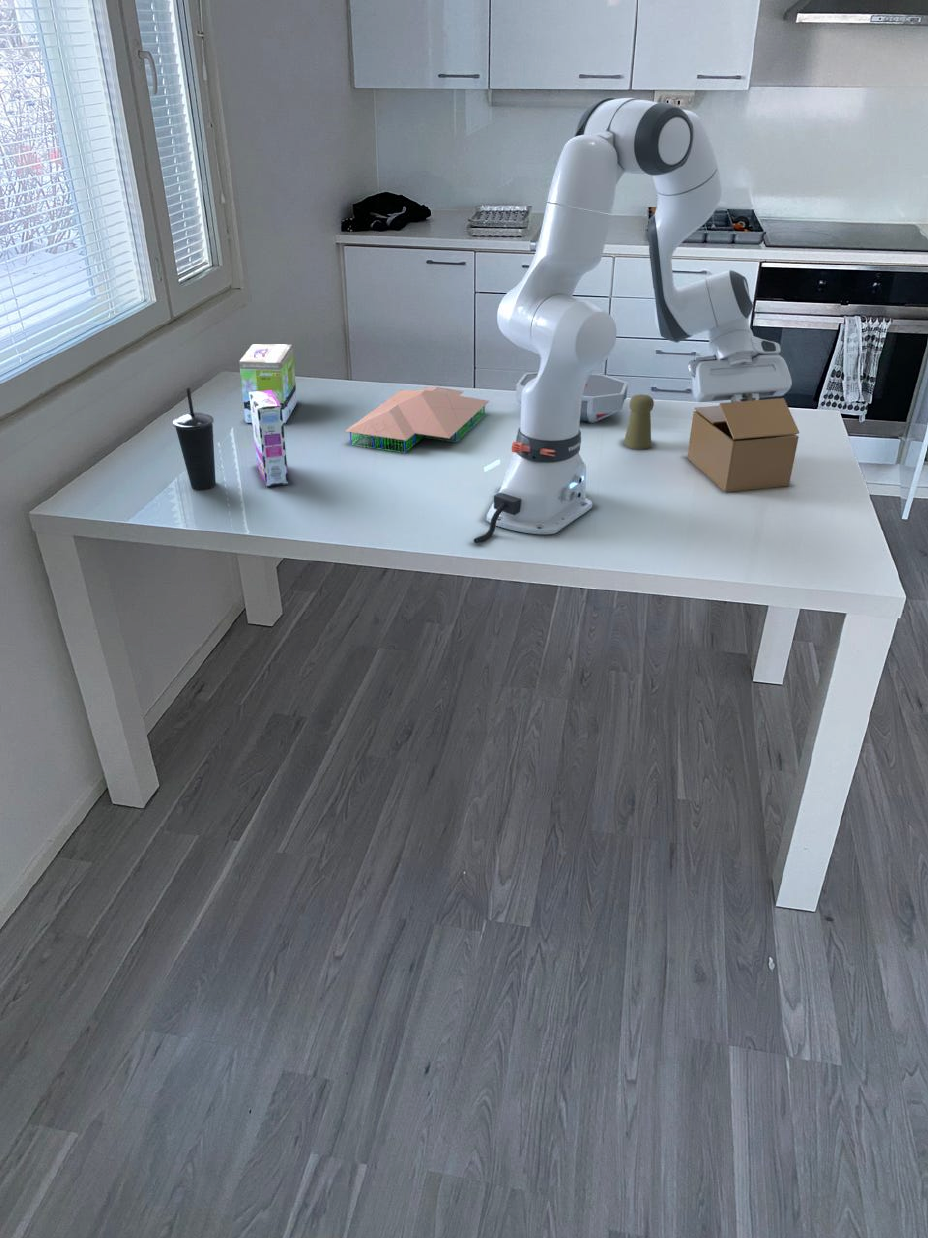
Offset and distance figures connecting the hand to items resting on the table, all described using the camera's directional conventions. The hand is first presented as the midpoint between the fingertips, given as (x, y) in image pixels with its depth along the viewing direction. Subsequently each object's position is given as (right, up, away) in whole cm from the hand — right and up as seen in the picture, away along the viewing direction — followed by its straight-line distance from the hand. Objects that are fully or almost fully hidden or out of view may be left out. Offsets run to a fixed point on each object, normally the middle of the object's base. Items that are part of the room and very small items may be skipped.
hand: (749, 416), depth 187 cm
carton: (0, -10, +8) cm, 12 cm away
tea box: (-103, +9, +37) cm, 110 cm away
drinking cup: (-110, -14, +2) cm, 111 cm away
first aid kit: (-32, +8, +37) cm, 49 cm away
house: (-67, +4, +29) cm, 73 cm away
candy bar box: (-96, -11, +6) cm, 97 cm away
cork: (-19, -2, +21) cm, 28 cm away
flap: (+1, -1, -3) cm, 4 cm away
